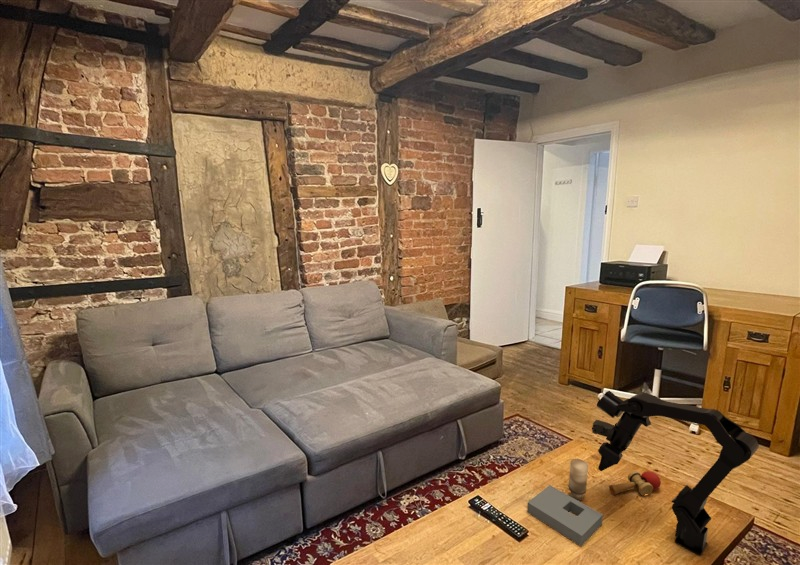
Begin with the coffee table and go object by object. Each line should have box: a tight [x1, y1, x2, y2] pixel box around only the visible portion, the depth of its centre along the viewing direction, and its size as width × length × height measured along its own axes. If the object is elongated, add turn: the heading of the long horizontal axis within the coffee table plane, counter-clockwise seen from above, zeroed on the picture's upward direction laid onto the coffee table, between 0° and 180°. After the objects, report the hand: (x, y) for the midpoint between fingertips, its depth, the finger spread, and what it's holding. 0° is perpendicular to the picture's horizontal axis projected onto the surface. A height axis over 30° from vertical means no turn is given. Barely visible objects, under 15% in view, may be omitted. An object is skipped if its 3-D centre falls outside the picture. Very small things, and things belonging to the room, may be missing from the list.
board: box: [526, 484, 604, 547], centre depth 131 cm, size 18×13×4 cm
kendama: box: [609, 470, 662, 496], centre depth 144 cm, size 8×6×18 cm
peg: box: [567, 458, 589, 502], centre depth 140 cm, size 6×6×12 cm
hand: (603, 464), depth 137 cm, fingers open, 9 cm apart
